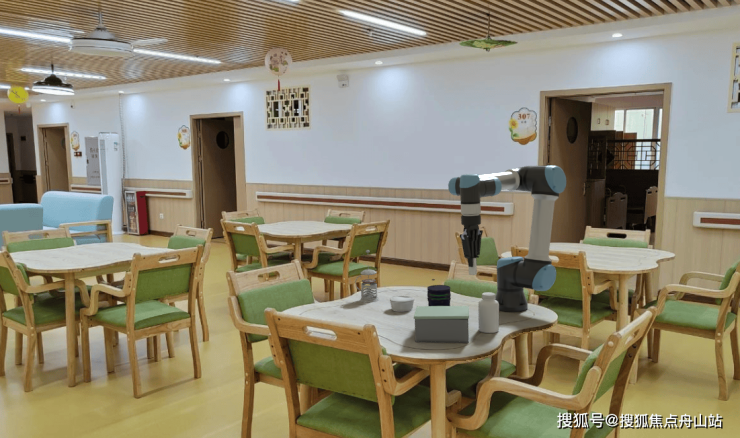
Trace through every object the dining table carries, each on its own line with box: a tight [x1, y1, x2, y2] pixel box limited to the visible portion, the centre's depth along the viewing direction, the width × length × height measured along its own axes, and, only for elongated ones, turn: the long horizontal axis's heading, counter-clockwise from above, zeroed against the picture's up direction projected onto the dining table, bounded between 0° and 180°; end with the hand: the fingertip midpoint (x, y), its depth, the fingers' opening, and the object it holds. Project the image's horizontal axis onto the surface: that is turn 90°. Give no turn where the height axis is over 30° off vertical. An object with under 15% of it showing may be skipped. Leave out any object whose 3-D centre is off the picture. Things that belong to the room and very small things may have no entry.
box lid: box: [413, 305, 470, 320], centre depth 226 cm, size 21×15×1 cm
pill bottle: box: [477, 291, 500, 334], centre depth 232 cm, size 8×8×15 cm
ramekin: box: [389, 295, 415, 313], centre depth 269 cm, size 11×11×5 cm
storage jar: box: [426, 278, 452, 306], centre depth 246 cm, size 10×10×18 cm
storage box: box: [414, 319, 470, 344], centre depth 227 cm, size 20×14×9 cm
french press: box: [354, 249, 380, 303], centre depth 288 cm, size 10×12×25 cm
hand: (472, 274), depth 228 cm, fingers closed
